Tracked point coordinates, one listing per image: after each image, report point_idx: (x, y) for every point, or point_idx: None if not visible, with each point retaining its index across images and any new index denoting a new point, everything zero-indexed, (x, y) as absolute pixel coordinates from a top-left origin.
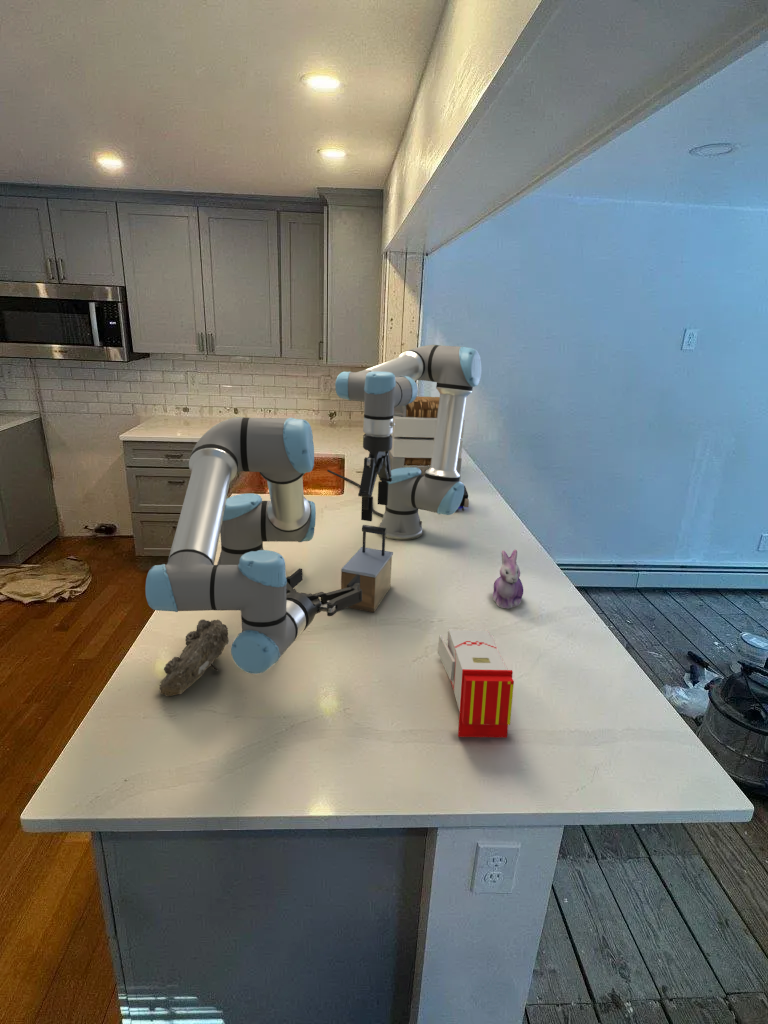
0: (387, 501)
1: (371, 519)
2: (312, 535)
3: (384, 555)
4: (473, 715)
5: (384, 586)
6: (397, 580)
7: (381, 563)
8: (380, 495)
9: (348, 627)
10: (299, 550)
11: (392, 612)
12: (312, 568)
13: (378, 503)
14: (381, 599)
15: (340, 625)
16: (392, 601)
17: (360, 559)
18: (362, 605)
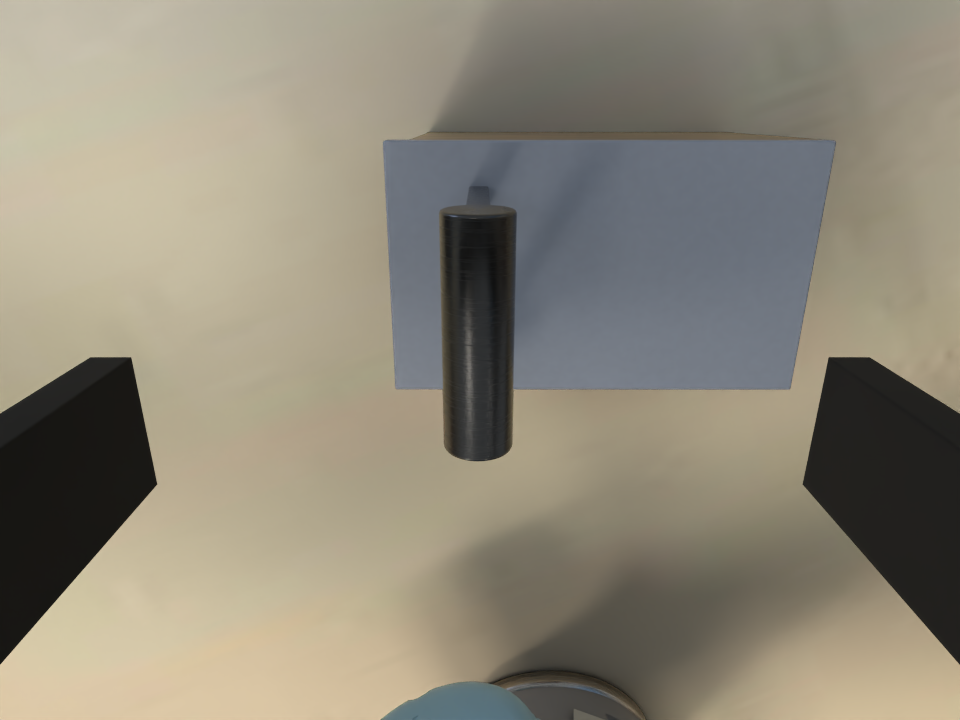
0: (66, 378)
1: (870, 366)
2: (517, 702)
3: (475, 184)
4: None
5: (556, 134)
6: (320, 120)
7: (628, 160)
8: (69, 533)
9: (891, 205)
10: (242, 665)
11: (697, 32)
12: (388, 554)
13: (147, 478)
14: (598, 132)
15: (879, 247)
16: (576, 71)
17: (609, 325)
18: None
